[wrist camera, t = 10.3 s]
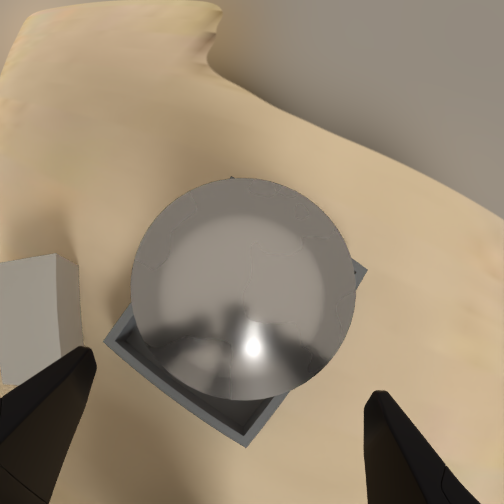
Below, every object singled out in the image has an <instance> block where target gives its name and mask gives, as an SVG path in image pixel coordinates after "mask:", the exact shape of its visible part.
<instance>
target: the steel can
mask: <svg viewBox="0 0 504 504" xmlns="http://www.w3.org/2000/svg"><path fill="white" fill-rule="evenodd" d="M355 299H356V280H355V273H354V267H353V263H352V260H351V256H350V253H349V251H348V248H347V246H346V243H345V241H344V239H343V238H342V236H341V234H340V232H339V231H338V229H337V228H336V226H335V225H334V224H333V222H332V221H331V220H330V218H329V217H328V216H327V215H326V214H325V213H324V212H323V211H322V210H321V209H320V208H319V207H318V206H317V205H315V204H314V203H313V202H312V201H310V200H309V199H308V198H306V197H305V196H303V195H301V194H300V193H298V192H296V191H294V190H292V189H290V188H288V187H285V186H283V185H280V184H277V183H274V182H270V181H265V180H260V179H251V178H234V179H225V180H219V181H215V182H211V183H208V184H205V185H202V186H200V187H197V188H195V189H193V190H191V191H189V192H187V193H185V194H184V195H182V196H181V197H179V198H177V199H176V200H175V201H174V202H172V203H171V204H170V205H169V206H167V207H166V208H165V209H164V210H163V211H162V212H161V213H160V214H159V215H158V216H157V218H156V219H155V220H154V222H153V223H152V224H151V226H150V227H149V228H148V230H147V232H146V233H145V235H144V237H143V239H142V241H141V243H140V245H139V248H138V250H137V253H136V256H135V260H134V264H133V268H132V275H131V302H132V308H133V314H134V317H135V320H136V324H137V327H138V329H139V332H140V334H141V336H142V338H143V340H144V342H145V344H146V345H147V347H148V348H149V350H150V352H151V353H152V355H153V356H154V357H155V358H156V359H157V361H158V362H159V363H160V364H161V365H162V366H163V367H164V368H165V369H166V370H167V371H168V372H169V373H171V374H172V375H173V376H174V377H175V378H177V379H178V380H180V381H181V382H183V383H184V384H186V385H187V386H189V387H191V388H194V389H196V390H198V391H200V392H202V393H205V394H208V395H211V396H214V397H219V398H224V399H230V400H257V399H265V398H269V397H273V396H277V395H280V394H283V393H285V392H288V391H290V390H293V389H295V388H296V387H298V386H300V385H302V384H304V383H305V382H307V381H308V380H309V379H311V378H312V377H313V376H315V375H316V374H317V373H319V372H320V371H321V370H322V369H323V368H324V367H325V366H326V365H327V364H328V363H329V361H330V360H331V359H332V357H333V356H334V355H335V354H336V352H337V351H338V349H339V348H340V346H341V344H342V342H343V340H344V339H345V337H346V334H347V332H348V329H349V327H350V324H351V320H352V317H353V313H354V307H355Z"/></svg>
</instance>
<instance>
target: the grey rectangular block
mask: <svg viewBox="0 0 504 504" xmlns="http://www.w3.org/2000/svg"><path fill="white" fill-rule="evenodd" d="M78 346H84V342H83V332H82V320H81V307H80V288H79V265H77V264H75V263H73V262H71V261H69V260H68V259H66V258H64V257H62V256H60V255H59V254H57V253H54V254H48V255H42V256H36V257H30V258H25V259H19V260H13V261H8V262H2V263H0V368H1V376H2V383H3V384H7V385H21V384H22V383H23V382H25V381H26V380H28V379H29V378H31V377H32V376H34V375H35V374H37V373H38V372H40V371H41V370H43V369H44V368H46V367H47V366H49V365H51V364H52V363H54V362H55V361H57V360H58V359H60V358H61V357H63V356H64V355H66V354H67V353H69V352H70V351H72V350H73V349H75V348H76V347H78Z"/></svg>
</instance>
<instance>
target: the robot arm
mask: <svg viewBox="0 0 504 504" xmlns="http://www.w3.org/2000/svg"><path fill="white" fill-rule="evenodd" d="M96 369H97V365H96V362H95V358H94V355H93V352H92V350H91V348H88V347H85V346H78V347H76V348H75V349H73V350H72V351H70V352H69V353H67V354H66V355H64V356H63V357H61V358H60V359H58V360H57V361H55V362H54V363H52V364H51V365H49V366H47V367H46V368H44V369H43V370H41V371H40V372H38V373H37V374H35V375H34V376H32V377H31V378H29V379H28V380H26V381H25V382H23V383H22V384H21V385H19V386H18V387H16V388H15V389H13V390H12V391H10V392H9V393H7V394H6V395H4V396H3V397H2V398H0V504H49V502H50V499H51V496H52V493H53V490H54V487H55V484H56V481H57V478H58V475H59V473H60V470H61V467H62V465H63V462H64V459H65V457H66V454H67V451H68V449H69V446H70V444H71V441H72V439H73V436H74V434H75V431H76V429H77V426H78V424H79V421H80V419H81V417H82V414H83V412H84V409H85V406H86V403H87V399H88V396H89V393H90V389H91V386H92V383H93V380H94V376H95V373H96ZM364 461H365V472H366V485H367V499H368V504H480V503H479V501H478V500H477V499H476V498H475V497H474V496H473V495H472V494H471V493H470V492H469V491H468V490H467V489H466V488H465V487H464V486H463V485H462V484H461V483H460V482H459V480H458V479H457V478H456V477H455V476H454V474H453V473H452V472H451V471H450V469H449V468H448V467H447V466H445V463H444V462H443V461H442V459H441V458H440V457H439V455H438V454H437V453H436V452H435V450H434V449H433V448H432V447H431V445H430V444H429V443H428V442H427V440H426V439H425V438H424V436H423V435H422V434H421V433H420V431H419V430H418V429H417V428H416V426H415V425H414V424H413V423H412V421H411V420H410V419H409V418H408V416H407V415H406V414H405V413H404V411H403V410H402V409H401V408H400V406H399V405H398V404H397V403H396V401H395V400H394V399H393V398H392V397H391V395H390V394H389V393H388V392H387V391H381V390H376V391H374V392H373V393H372V395H371V397H370V398H369V400H368V401H367V403H366V405H365V407H364Z"/></svg>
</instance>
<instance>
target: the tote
mask: <svg viewBox="0 0 504 504" xmlns="http://www.w3.org/2000/svg"><path fill="white" fill-rule="evenodd" d="M230 179H234V177H232V176H231V177H230ZM351 260H352V263H353V267H354V273H355V280H356V289H357V288H358V286H359V284H360V282H361V281H362V279H363V277H364V276H365V274H366V272H367V269H366V268H364V267H363V266H362V265H360V264H359V263H358V262H356V261H355V260H354V259H352V258H351ZM103 342H104V343H105V344H106V345H107V346H108V347H109V348H110V349H112V350H113V351H114V352H115V353H116V354H117V355H118V356H120V357H121V358H122V359H123V360H124V361H125V362H127V363H128V364H129V365H130V366H131V367H132V368H134V369H135V370H136V371H137V372H139V373H140V374H141V375H142V376H143V377H145V378H146V379H147V380H148V381H150V382H151V383H152V384H153V385H155V386H156V387H157V388H159V389H160V390H161V391H163V392H164V393H165V394H166V395H168V396H169V397H170V398H172V399H173V400H175V401H176V402H177V403H179V404H180V405H181V406H183V407H184V408H186V409H187V410H188V411H190V412H191V413H193V414H194V415H196V416H197V417H198V418H200V419H201V420H203V421H204V422H206V423H207V424H209V425H210V426H212V427H213V428H215V429H216V430H218V431H219V432H221V433H223V434H224V435H226V436H227V437H229V438H230V439H232V440H234V441H235V442H237V443H239V444H240V445H242V446H243V447H245V448H247V446H248V445H249V444H250V443H251V441H252V440H253V439H254V438H255V436H256V435H257V434H258V433H259V431H260V430H261V429H262V428H263V426H264V425H265V424H266V422H267V421H268V420H269V419H270V417H271V416H272V415H273V413H274V412H275V411H276V409H277V408H278V407H279V405H280V404H281V403H282V401H283V400H284V399H285V397H286V396H287V394H288V393H289V392H290V391H288V392H285V393H283V394H280V395H277V396H273V397H269V398H265V399H257V400H230V399H224V398H219V397H214V396H211V395H208V394H205V393H202V392H200V391H198V390H196V389H194V388H191V387H189V386H187V385H186V384H184V383H183V382H181V381H180V380H178V379H177V378H175V377H174V376H173V375H172V374H171V373H169V372H168V371H167V370H166V369H165V368H164V367H163V366H162V365H161V364H160V363H159V362H158V361H157V359H156V358H155V357H154V356H153V355H152V353H151V352H150V350H149V348H148V347H147V345H146V344H145V342H144V340H143V338H142V336H141V334H140V332H139V329H138V327H137V324H136V320H135V317H134V314H133V308H132V302H131V303H130V305H129V306H128V307H127V309H126V310H125V311H124V313H123V314H122V316H121V317H120V318H119V320H118V321H117V323H116V324H115V325H114V327H113V328H112V330H111V331H110V332H109V334H108V335H107V337H106V338H105V339H104V341H103Z"/></svg>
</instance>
